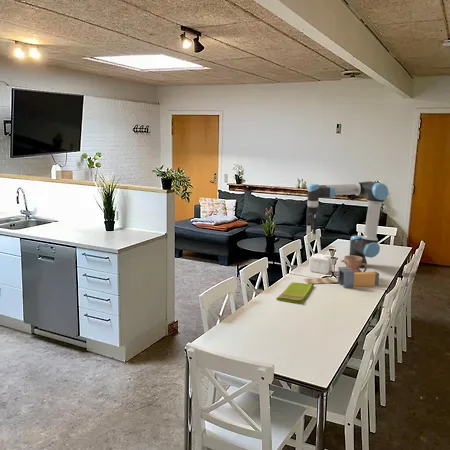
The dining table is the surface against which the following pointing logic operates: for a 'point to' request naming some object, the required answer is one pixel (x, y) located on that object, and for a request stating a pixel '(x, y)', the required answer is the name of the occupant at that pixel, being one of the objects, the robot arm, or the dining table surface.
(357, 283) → the plug
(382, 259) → the dining table surface
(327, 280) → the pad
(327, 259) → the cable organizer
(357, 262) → the ceramic jug
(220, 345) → the dining table surface
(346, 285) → the block
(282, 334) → the dining table surface
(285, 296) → the dish towel
